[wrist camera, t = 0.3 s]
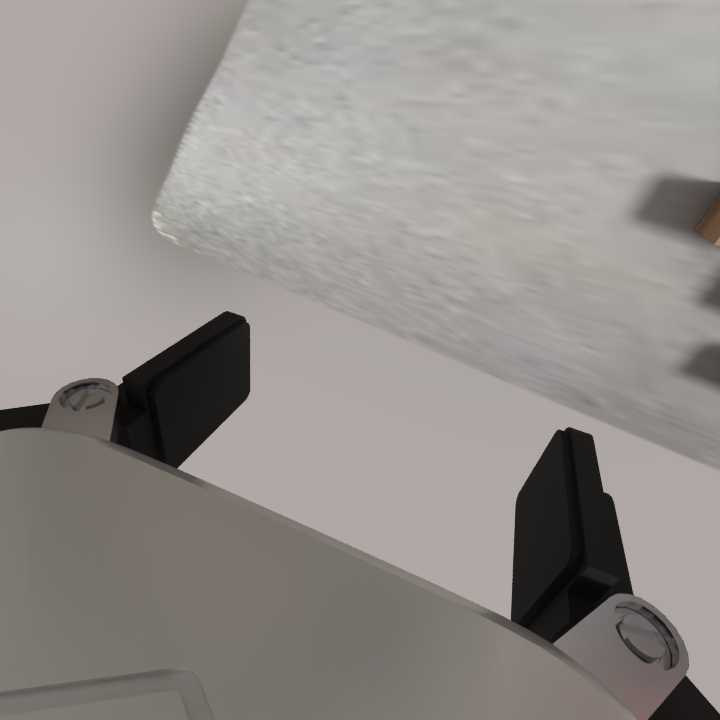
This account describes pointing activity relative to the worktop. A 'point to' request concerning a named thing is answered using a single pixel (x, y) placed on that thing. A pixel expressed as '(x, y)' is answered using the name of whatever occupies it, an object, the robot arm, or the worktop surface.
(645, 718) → the robot arm
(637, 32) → the worktop surface
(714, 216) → the walnut brick
